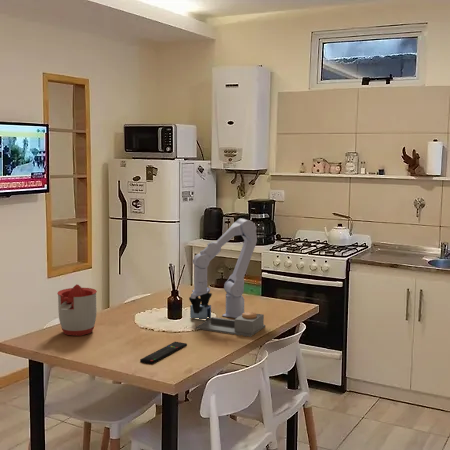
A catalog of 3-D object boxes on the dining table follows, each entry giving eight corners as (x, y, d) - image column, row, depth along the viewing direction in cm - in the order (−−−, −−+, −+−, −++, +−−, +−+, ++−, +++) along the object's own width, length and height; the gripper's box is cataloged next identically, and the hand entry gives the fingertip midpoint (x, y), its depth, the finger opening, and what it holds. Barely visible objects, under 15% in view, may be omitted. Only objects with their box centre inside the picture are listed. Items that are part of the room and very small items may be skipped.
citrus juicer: (47, 336, 249) (46, 287, 247) (72, 325, 265) (71, 279, 263) (81, 341, 244) (80, 291, 241) (104, 329, 260) (103, 282, 258)
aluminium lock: (195, 316, 281) (195, 301, 280) (211, 318, 278) (211, 303, 277) (190, 318, 277) (190, 304, 276) (206, 320, 274) (206, 306, 273)
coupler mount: (212, 319, 276) (212, 303, 275) (265, 326, 265) (265, 310, 264) (195, 328, 261) (195, 312, 261) (250, 336, 251) (250, 320, 250)
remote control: (186, 347, 239) (186, 343, 239) (151, 366, 218) (151, 362, 218) (175, 344, 242) (175, 341, 242) (139, 363, 221) (139, 359, 221)
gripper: (200, 277, 283) (200, 306, 285) (184, 283, 270) (184, 313, 272) (214, 278, 280) (213, 308, 282) (199, 285, 267) (198, 315, 269)
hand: (200, 311), depth 277 cm, fingers open, 7 cm apart
